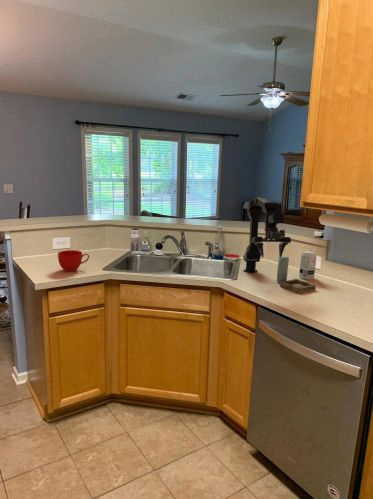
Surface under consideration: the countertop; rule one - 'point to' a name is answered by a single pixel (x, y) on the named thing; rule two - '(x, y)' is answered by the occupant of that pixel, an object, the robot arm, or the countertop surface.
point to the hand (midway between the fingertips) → (271, 257)
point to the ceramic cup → (71, 260)
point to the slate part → (282, 269)
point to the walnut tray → (298, 286)
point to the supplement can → (307, 265)
